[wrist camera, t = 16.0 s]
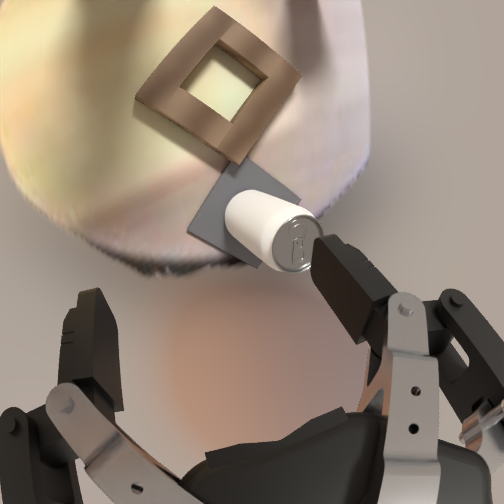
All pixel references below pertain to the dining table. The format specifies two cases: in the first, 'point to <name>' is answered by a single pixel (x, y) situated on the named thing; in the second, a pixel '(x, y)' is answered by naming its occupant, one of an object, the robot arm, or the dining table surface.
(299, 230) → the can
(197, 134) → the collar
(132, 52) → the dining table surface
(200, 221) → the mat
